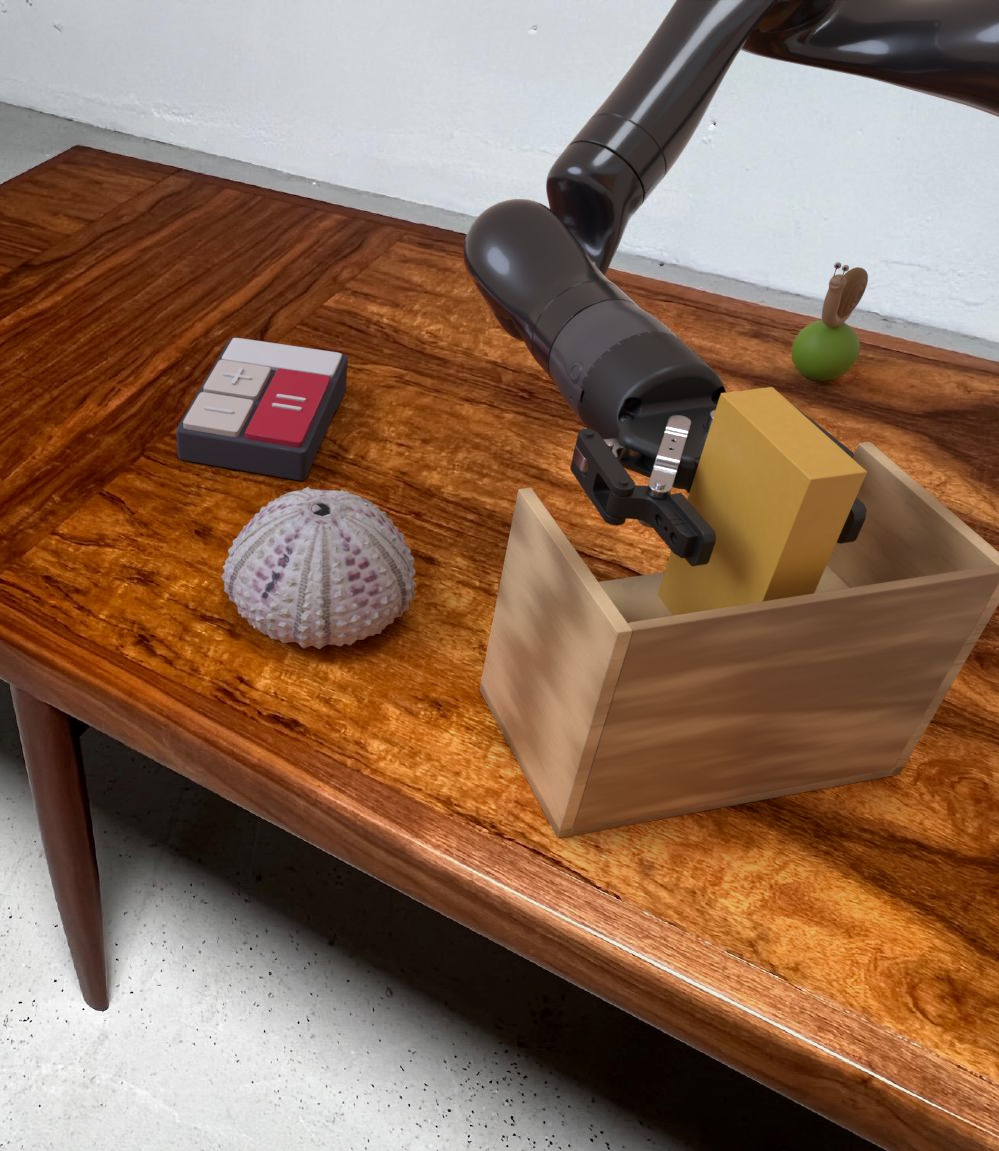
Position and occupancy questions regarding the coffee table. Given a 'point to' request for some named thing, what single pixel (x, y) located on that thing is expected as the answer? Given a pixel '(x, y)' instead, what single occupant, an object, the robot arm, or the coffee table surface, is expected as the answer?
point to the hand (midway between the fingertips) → (781, 541)
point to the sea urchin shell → (320, 569)
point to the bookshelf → (731, 666)
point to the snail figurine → (832, 330)
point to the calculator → (263, 408)
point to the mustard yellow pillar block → (763, 505)
